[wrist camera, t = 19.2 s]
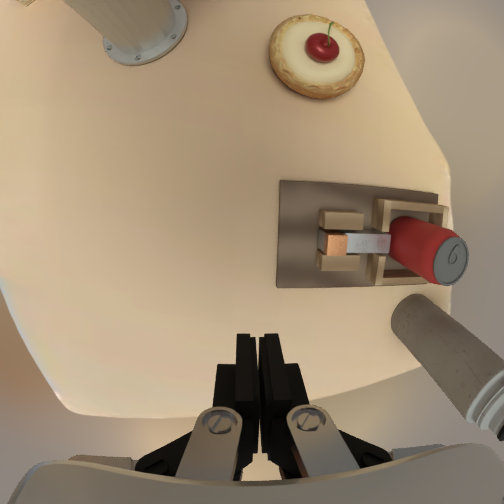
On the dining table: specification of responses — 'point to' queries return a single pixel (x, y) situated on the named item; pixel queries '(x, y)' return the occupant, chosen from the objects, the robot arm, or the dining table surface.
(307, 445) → the robot arm
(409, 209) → the dock
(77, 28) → the dining table surface
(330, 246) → the copper-tipped grey bar
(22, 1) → the coffeecake box
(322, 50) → the pastry
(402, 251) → the beer can
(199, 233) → the dining table surface
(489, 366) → the thermos bottle
